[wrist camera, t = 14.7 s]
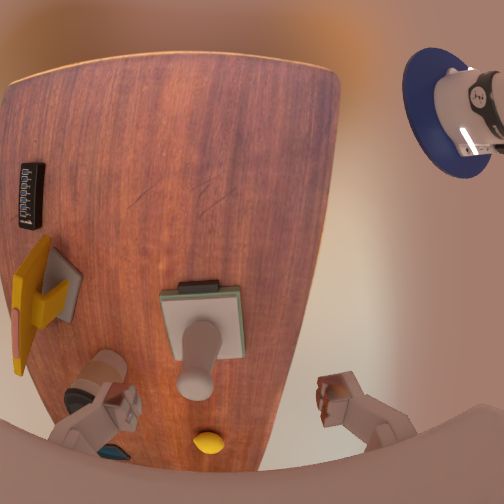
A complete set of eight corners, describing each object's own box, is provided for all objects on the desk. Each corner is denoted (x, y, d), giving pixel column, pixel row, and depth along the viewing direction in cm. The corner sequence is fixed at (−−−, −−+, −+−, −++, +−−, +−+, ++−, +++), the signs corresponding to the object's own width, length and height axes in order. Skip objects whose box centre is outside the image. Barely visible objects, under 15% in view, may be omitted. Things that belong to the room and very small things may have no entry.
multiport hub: (45, 163, 33) (37, 163, 31) (42, 227, 36) (34, 230, 34) (29, 162, 32) (21, 163, 30) (26, 224, 35) (18, 227, 33)
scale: (238, 278, 40) (239, 285, 38) (245, 349, 44) (245, 360, 42) (160, 283, 40) (155, 290, 37) (175, 352, 44) (173, 362, 41)
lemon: (227, 430, 51) (227, 449, 46) (221, 442, 52) (221, 459, 47) (196, 424, 50) (194, 443, 45) (192, 436, 51) (190, 454, 46)
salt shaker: (216, 351, 41) (211, 413, 28) (181, 340, 40) (165, 400, 27) (228, 321, 39) (226, 382, 27) (190, 309, 38) (174, 367, 26)
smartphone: (132, 458, 55) (131, 460, 54) (96, 456, 55) (95, 458, 55) (116, 444, 53) (115, 447, 52) (81, 442, 53) (80, 444, 52)
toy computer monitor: (55, 229, 36) (-8, 258, 21) (90, 251, 38) (32, 291, 23) (39, 317, 41) (-4, 360, 26) (69, 337, 42) (30, 388, 27)
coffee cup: (141, 371, 45) (119, 430, 30) (114, 385, 46) (91, 438, 32) (108, 337, 42) (74, 392, 28) (83, 354, 43) (51, 405, 29)
